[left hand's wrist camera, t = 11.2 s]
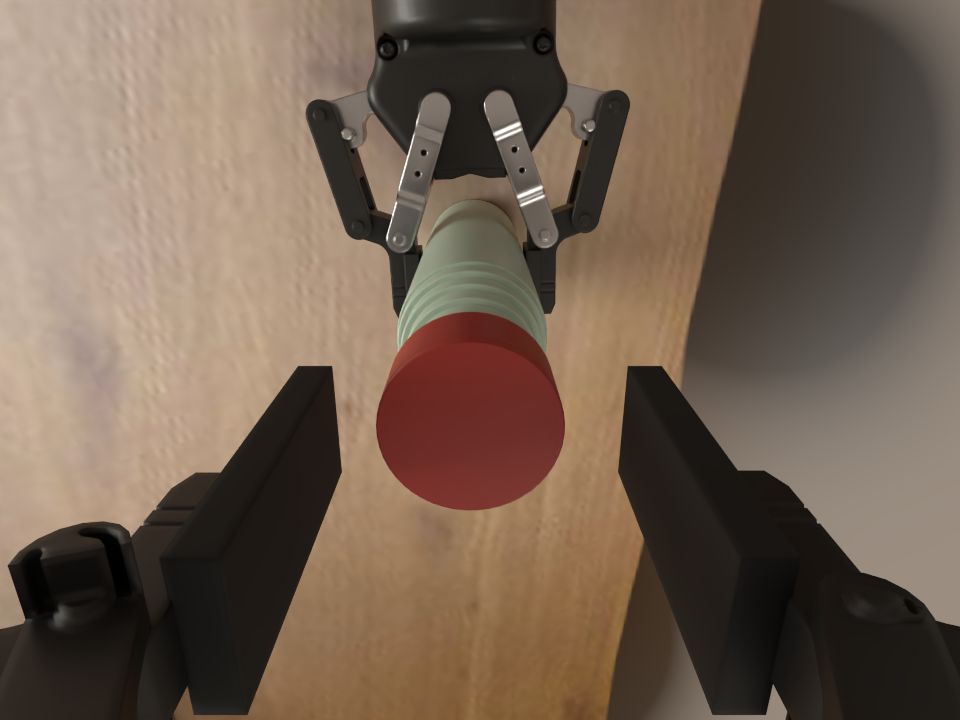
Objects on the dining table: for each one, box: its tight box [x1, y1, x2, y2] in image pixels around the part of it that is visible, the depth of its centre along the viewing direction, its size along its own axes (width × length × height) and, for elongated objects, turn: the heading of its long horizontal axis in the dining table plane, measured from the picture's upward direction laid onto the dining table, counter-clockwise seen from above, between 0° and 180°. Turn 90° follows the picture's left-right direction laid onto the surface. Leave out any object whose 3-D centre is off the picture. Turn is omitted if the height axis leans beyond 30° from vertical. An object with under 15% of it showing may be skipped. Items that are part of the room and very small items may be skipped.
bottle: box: [397, 200, 547, 353], centre depth 25 cm, size 5×5×23 cm
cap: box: [376, 312, 565, 510], centre depth 15 cm, size 4×4×2 cm
